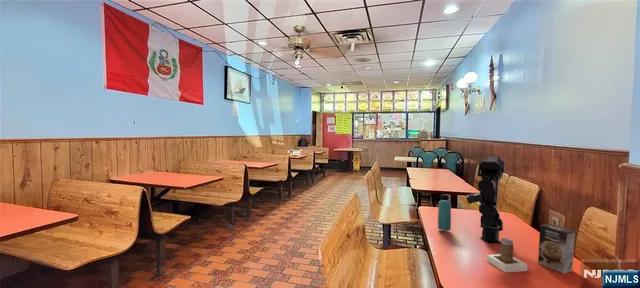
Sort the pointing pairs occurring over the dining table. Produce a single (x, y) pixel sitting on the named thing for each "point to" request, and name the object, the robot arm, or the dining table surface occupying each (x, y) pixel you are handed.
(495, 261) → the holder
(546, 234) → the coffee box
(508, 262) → the pepper mill
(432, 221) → the dining table surface
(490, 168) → the robot arm
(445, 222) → the beverage bottle
